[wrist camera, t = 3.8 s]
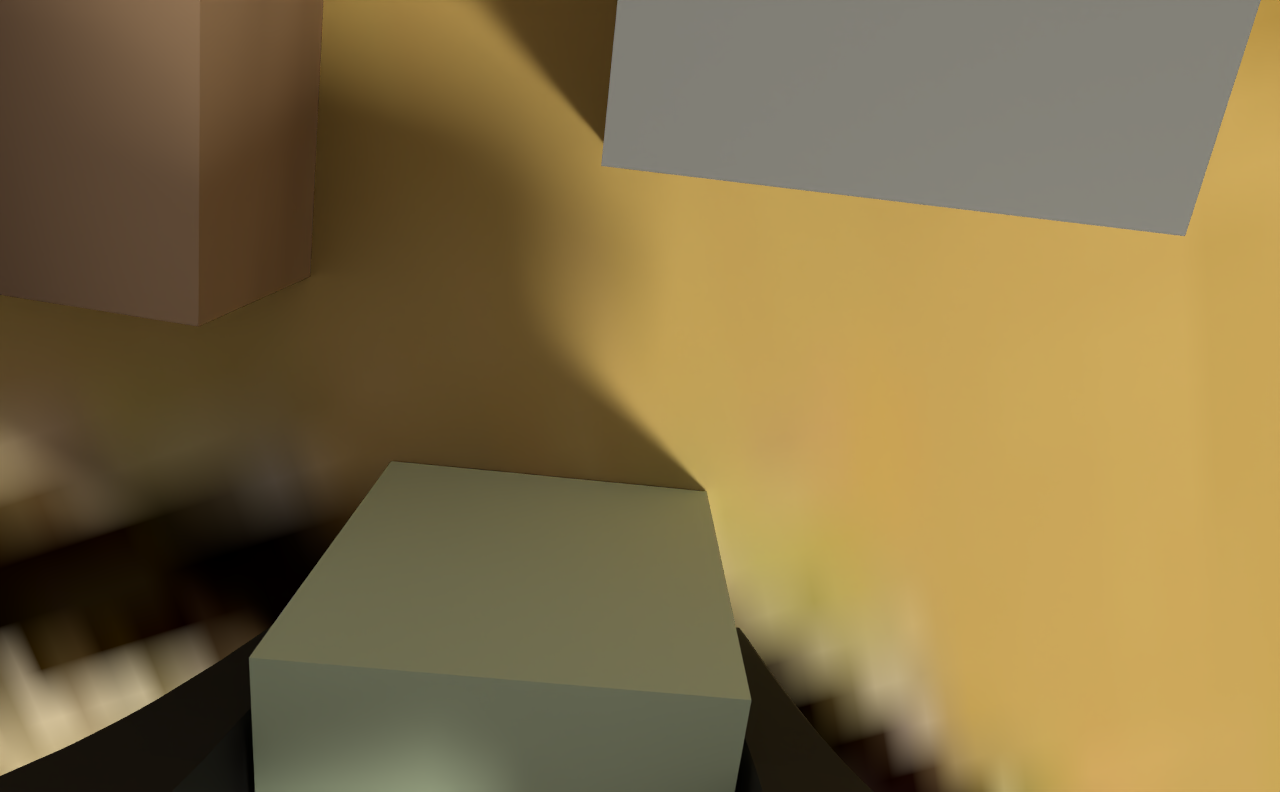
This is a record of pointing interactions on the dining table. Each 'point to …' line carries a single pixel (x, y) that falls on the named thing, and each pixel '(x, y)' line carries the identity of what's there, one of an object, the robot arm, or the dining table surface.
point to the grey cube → (934, 100)
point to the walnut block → (157, 152)
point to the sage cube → (506, 644)
